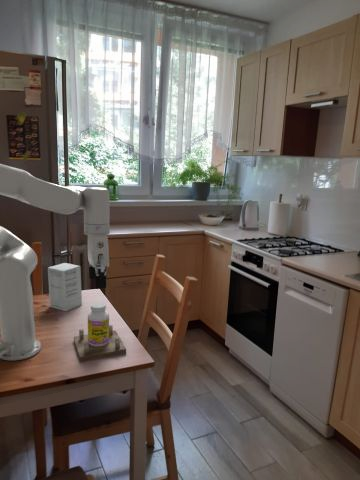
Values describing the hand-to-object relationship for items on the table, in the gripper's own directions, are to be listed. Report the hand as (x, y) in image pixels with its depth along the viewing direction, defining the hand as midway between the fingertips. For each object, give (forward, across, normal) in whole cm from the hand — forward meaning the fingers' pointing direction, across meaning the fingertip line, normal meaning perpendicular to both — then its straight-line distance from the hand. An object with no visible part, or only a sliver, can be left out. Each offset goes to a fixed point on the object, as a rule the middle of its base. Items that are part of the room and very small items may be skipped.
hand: (97, 283), depth 114 cm
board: (+22, 0, 0) cm, 22 cm away
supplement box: (+22, +39, +5) cm, 45 cm away
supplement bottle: (+20, 0, 0) cm, 20 cm away
